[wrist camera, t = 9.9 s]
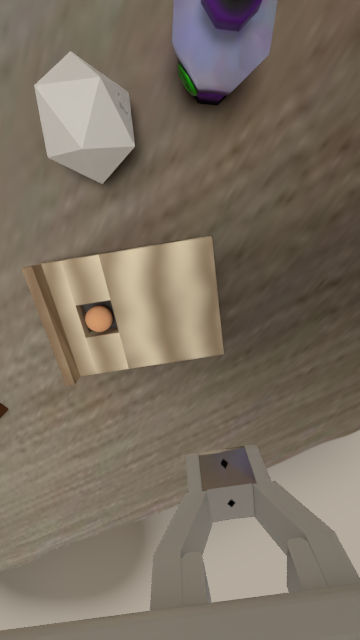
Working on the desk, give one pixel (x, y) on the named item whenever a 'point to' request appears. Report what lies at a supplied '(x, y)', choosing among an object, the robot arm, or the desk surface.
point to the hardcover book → (2, 410)
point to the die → (84, 118)
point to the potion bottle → (220, 43)
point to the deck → (130, 307)
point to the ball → (98, 318)
